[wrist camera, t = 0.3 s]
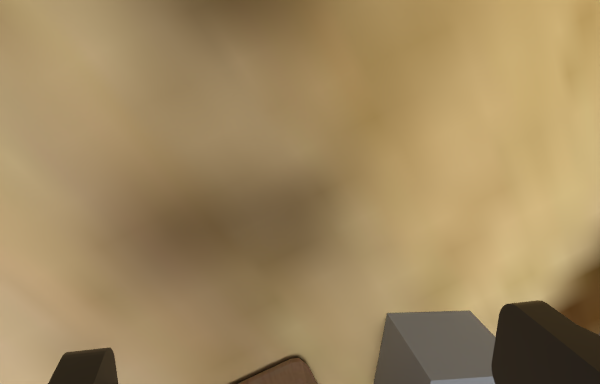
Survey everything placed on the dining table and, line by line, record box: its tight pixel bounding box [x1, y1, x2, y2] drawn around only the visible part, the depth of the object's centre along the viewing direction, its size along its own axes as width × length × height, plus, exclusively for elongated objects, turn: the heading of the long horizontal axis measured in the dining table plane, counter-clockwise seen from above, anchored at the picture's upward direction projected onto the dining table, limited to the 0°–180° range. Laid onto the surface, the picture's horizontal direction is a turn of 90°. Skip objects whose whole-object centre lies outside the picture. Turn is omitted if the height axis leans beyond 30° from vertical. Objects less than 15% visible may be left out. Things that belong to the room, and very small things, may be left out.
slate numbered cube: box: [374, 311, 496, 384], centre depth 31 cm, size 7×7×7 cm
